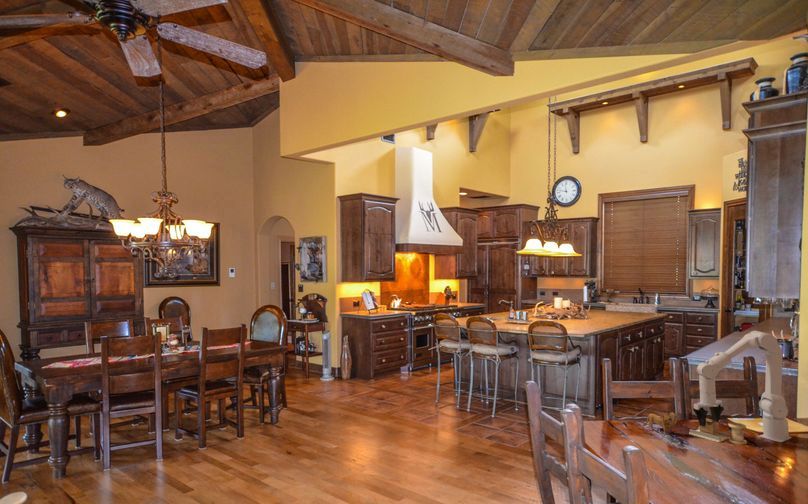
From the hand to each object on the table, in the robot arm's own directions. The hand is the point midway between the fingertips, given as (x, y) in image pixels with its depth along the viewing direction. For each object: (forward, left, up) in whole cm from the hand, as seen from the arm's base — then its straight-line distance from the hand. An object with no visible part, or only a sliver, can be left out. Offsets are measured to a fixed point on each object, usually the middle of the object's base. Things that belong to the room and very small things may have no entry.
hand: (709, 424), depth 206 cm
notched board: (0, 0, -5) cm, 5 cm away
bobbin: (-2, +10, -5) cm, 11 cm away
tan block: (0, 0, -4) cm, 4 cm away
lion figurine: (+10, -15, -5) cm, 19 cm away
